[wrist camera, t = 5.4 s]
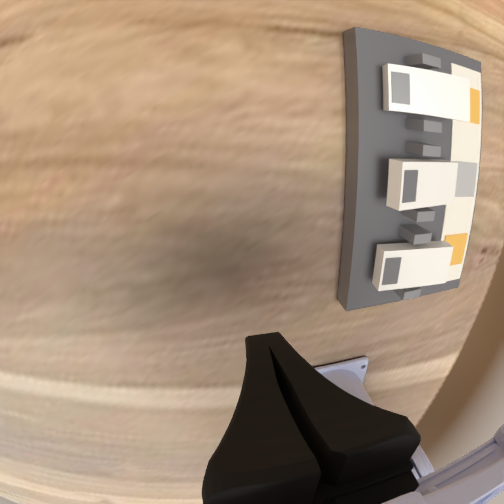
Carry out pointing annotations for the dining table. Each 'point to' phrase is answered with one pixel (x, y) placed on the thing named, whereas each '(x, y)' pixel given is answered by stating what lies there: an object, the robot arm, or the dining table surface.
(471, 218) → the switch unit
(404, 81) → the block
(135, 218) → the dining table surface
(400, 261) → the rocker
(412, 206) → the block
